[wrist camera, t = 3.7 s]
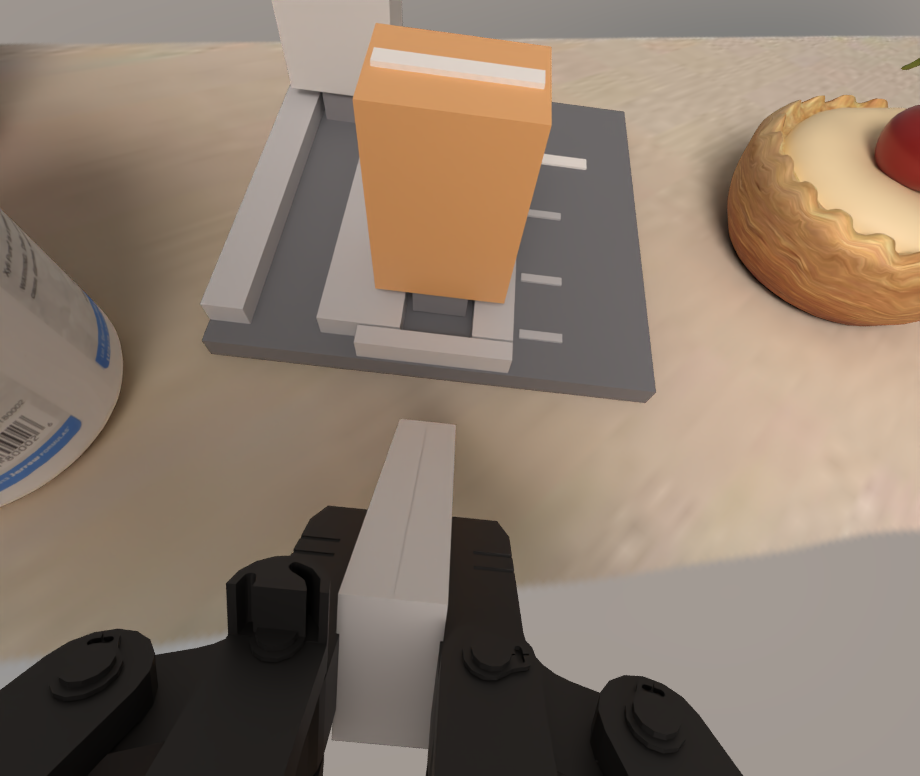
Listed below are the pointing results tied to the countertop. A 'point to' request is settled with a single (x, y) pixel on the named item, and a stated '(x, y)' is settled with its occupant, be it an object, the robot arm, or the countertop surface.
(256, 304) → the console board
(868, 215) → the pastry
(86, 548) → the countertop surface
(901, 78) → the countertop surface
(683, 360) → the countertop surface
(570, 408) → the countertop surface
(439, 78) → the fader knob
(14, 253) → the supplement tub
